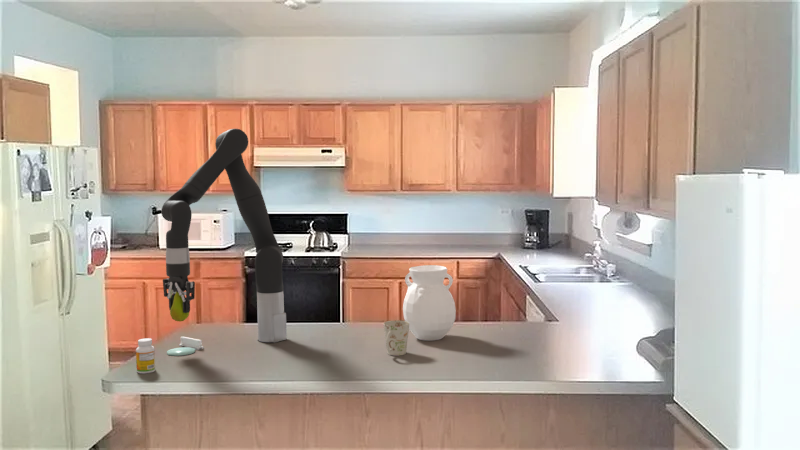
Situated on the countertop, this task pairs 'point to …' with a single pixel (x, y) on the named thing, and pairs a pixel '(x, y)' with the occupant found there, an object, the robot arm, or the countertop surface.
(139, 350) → the supplement bottle
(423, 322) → the white handled vase
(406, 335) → the mug
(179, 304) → the fruit
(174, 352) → the pad
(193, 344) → the rail
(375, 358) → the countertop surface
